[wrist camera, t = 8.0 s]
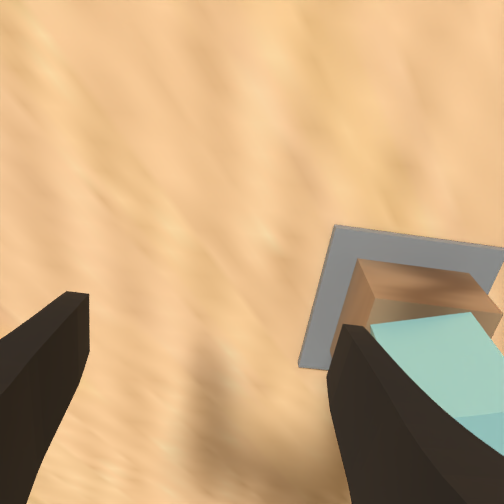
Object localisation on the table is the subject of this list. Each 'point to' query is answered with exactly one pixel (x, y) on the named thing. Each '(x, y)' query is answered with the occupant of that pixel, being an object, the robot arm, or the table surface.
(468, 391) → the teal block
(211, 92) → the table surface
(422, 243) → the mat
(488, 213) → the table surface
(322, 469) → the table surface
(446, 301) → the walnut block
